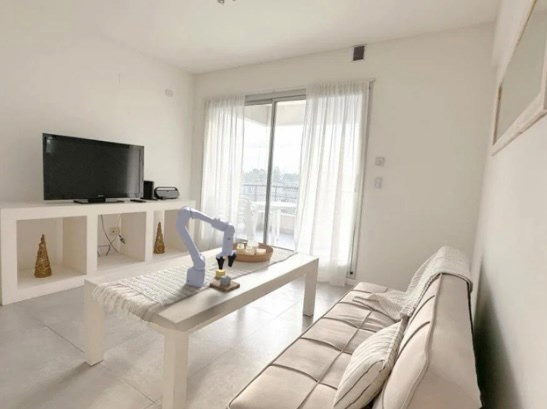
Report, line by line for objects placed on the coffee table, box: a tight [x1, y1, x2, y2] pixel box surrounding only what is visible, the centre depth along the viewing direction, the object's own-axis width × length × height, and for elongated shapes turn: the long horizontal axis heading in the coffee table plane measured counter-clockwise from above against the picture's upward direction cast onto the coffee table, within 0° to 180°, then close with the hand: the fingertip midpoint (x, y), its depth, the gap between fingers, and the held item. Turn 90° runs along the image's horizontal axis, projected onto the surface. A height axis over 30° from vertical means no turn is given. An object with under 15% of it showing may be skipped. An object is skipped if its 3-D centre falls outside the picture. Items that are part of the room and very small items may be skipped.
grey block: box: [220, 274, 232, 286], centre depth 170 cm, size 4×4×4 cm
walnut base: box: [209, 278, 241, 293], centre depth 170 cm, size 12×12×2 cm
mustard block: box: [215, 268, 226, 279], centre depth 183 cm, size 4×4×4 cm
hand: (225, 268), depth 172 cm, fingers open, 7 cm apart
